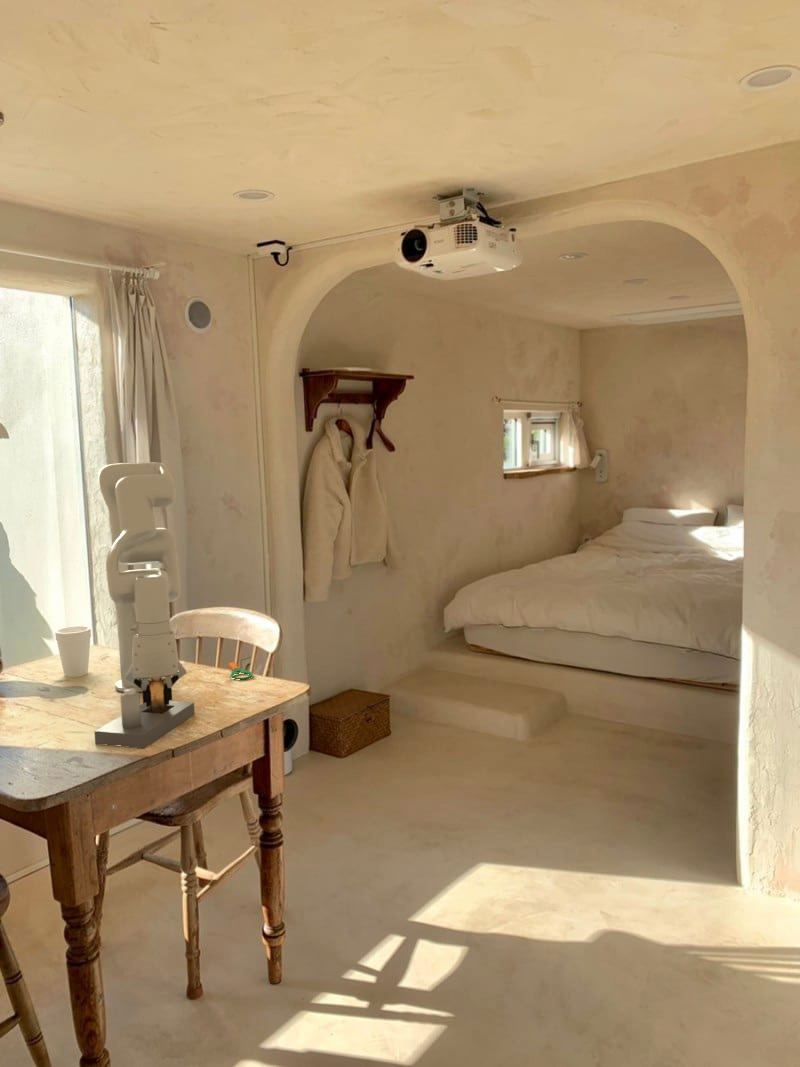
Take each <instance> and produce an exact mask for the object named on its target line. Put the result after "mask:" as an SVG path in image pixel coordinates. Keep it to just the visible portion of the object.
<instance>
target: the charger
mask: <svg viewBox="0 0 800 1067" xmlns="http://www.w3.org/2000/svg"><path fill="white" fill-rule="evenodd" d="M140 696H141V695H140V692H135V689H126V690H124V692H122V694H120V711H121V715H120V716H118V717H117V718H115V719H113V720H112V721H110V722H108V723H106V724H105V725H103V726H101V727H99V728H98V729H95V730H94V741H95V744H94V745H97V744H107V745H106V746H109V745H121V746H129V747H128V748H132V747H137V748H136V749H146V748H147V747H149V746H150V745H152V744H153V743H154V741H155V742H156V741H157V739H158V740H159V739H161V738H162V737H164V736H165V735H166V734H168V733H169V732H171V731H172V730H174V729H175V728H177V727H178V726H180V725H181V724H184V722H186V721H187V720H189V719H190V718H192V717H193V716H194V715H195V702H194V701H178V700H169V705H167V711H166V712H165V713H163V714H160V713H150V712H149V707H146V703H143V702H141V700H140V699H141V697H140ZM151 743H152V744H151ZM148 745H149V746H148Z"/></svg>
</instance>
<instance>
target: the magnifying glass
mask: <svg viewBox="0 0 800 1067" xmlns="http://www.w3.org/2000/svg"><path fill="white" fill-rule="evenodd" d="M228 667H229V668H230V670H232V672H231V673H230V678H231V677H232V678H235V679H240V680H244V681H246V680H245V679H249V678H251V677H252V676H253V675H254V674H253V672H251V670H250V671H249V670H245V669H243V668H239V667H238V666H237V664H236V663H235V662H229V663H228ZM240 672H241V673H244V674H249V675H247V676H244V677H237V676H234V677H233V675H234V674H239V673H240ZM253 677H254V676H253ZM253 677H252V678H253ZM252 678H251V679H252ZM249 680H250V679H249Z"/></svg>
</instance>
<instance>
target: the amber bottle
mask: <svg viewBox="0 0 800 1067" xmlns="http://www.w3.org/2000/svg"><path fill="white" fill-rule="evenodd" d="M165 688H166V679H165V677H158V678H151V679H149V680H148V690H149V702H150V706H149V712H150V713H160V714H163V713H165V712H166V711H167V704H166V695H165Z"/></svg>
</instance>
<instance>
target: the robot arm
mask: <svg viewBox="0 0 800 1067" xmlns="http://www.w3.org/2000/svg"><path fill="white" fill-rule="evenodd" d="M98 486H99V489H100V490H99V491H100V493H101V496H102V498H103V500H104V502H105V505H106V507H107V508H108V511H109V514H110V520H111V531H112V539H113V540H112V541H113V542H112V543H113V544H112V545H111V547H110V548H109V550H108V552H107V557H106V561H105V571H106V577H107V578H106V580H107V588H108V594H109V596H110V599H111V600H112V601H113V602H114V605H115V613H116V622H117V634H118V648H119V649H118V650H119V666H120V667H119V668H120V680H118V681H117V682H115V690H116V691H118V692H121V693H124V690H126V689H135V692H138V693H142V703H146V707H149V706H150V702H149V690H148V680H149V679H151V678H158V677H163V678H165V680H166V688H165V695H166V704H167V705H169V701H173V692H172V691H173V690H172V688H173V686H174V685H175V683H176V684H177V682H178V680H179V679H181V678H183V676H185V675H186V674H187V669H186V668H185V667H184V666H183V664H182V663H181V662H180V660H179V655H178V647H177V640H176V637H175V633H174V631H173V630H171V619H170V615H171V614H170V603H172V602H175V601H177V600H179V597H180V596H181V579H180V570H179V569H180V568H179V559H178V551H177V550H178V549H177V543H176V538H175V535H174V533H173V532H172V531H171V530H170V529H168V528H166V527H157V523H156V517H155V516H156V515H155V511H154V508H166V507H171V506H173V505H174V504H175V502H176V499H177V498H176V496H177V491H176V490H177V489H176V485H175V481H174V478H173V476H172V475H171V473H170V471H169V469H168V467H167V465H166V464H164V463H163V462H121V463H120V462H119V463H112V464H107V465H105V466H103V467H101V468H100V469H99V472H98ZM119 564H120V565H122V566H139V565H151V564H156V565H157V564H158V565H159V566H160V567H155V568H144V569H143V568H141V569H130V570H125V571H120V570H119Z"/></svg>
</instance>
